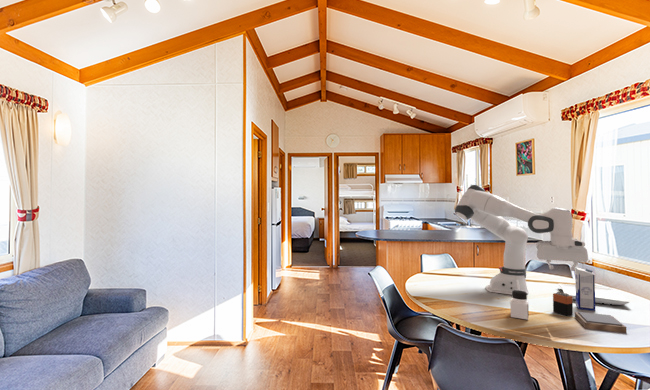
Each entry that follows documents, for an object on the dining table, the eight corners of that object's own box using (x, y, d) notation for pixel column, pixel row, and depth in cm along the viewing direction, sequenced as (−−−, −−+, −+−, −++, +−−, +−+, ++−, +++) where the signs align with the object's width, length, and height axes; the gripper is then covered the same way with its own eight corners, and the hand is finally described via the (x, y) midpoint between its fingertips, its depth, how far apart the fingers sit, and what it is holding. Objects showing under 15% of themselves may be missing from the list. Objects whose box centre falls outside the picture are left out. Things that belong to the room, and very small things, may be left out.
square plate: (565, 301, 182) (565, 293, 182) (557, 288, 206) (557, 282, 206) (630, 308, 169) (630, 300, 169) (614, 294, 194) (614, 287, 194)
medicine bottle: (528, 320, 153) (528, 293, 153) (510, 317, 157) (510, 291, 157) (528, 315, 159) (528, 290, 159) (511, 312, 163) (511, 288, 163)
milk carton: (575, 305, 174) (575, 266, 174) (591, 306, 171) (591, 267, 171) (578, 309, 168) (578, 269, 168) (595, 311, 164) (594, 270, 165)
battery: (567, 316, 157) (566, 295, 157) (552, 311, 164) (552, 291, 164) (573, 315, 159) (572, 294, 159) (558, 310, 165) (558, 290, 165)
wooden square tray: (585, 328, 143) (585, 321, 143) (574, 317, 156) (574, 310, 156) (626, 333, 138) (626, 325, 138) (612, 321, 151) (612, 314, 151)
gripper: (537, 241, 163) (538, 269, 162) (589, 243, 155) (589, 272, 155) (535, 239, 168) (535, 267, 168) (584, 241, 161) (585, 270, 160)
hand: (561, 269), depth 161 cm, fingers open, 7 cm apart
